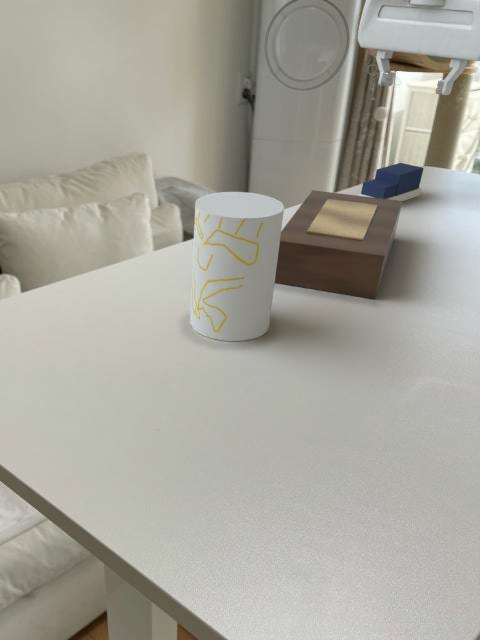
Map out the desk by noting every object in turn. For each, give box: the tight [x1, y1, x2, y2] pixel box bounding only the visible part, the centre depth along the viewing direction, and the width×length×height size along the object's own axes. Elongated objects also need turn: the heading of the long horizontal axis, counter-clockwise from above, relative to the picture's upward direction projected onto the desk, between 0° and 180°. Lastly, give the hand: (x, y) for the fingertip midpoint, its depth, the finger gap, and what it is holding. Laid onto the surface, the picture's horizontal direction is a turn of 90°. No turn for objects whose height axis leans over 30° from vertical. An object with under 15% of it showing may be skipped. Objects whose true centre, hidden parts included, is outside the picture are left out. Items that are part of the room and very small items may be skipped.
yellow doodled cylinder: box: [189, 191, 285, 342], centre depth 63 cm, size 8×8×12 cm
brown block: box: [274, 189, 403, 300], centre depth 81 cm, size 22×12×5 cm, turn 158°
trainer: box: [358, 162, 424, 202], centre depth 103 cm, size 11×5×4 cm, turn 132°
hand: (412, 89), depth 95 cm, fingers open, 8 cm apart
